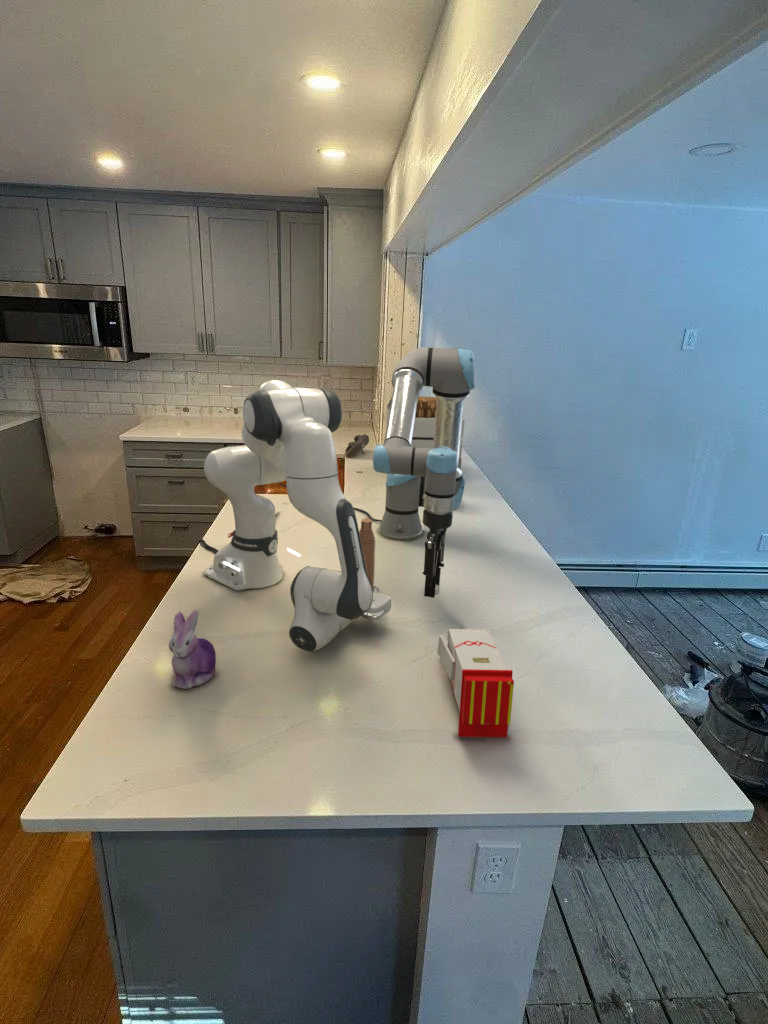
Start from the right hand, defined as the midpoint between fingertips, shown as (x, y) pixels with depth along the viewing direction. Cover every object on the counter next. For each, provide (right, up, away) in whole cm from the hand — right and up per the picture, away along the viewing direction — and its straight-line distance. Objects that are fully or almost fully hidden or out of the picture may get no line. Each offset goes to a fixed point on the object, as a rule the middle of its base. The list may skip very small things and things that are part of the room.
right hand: (431, 592), depth 152 cm
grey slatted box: (+5, +40, +123) cm, 130 cm away
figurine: (-52, -13, -32) cm, 63 cm away
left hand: (-18, +2, -3) cm, 18 cm away
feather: (-53, +20, +60) cm, 83 cm away
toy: (+5, -16, -33) cm, 37 cm away
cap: (0, +1, 0) cm, 1 cm away
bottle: (-18, -4, -2) cm, 19 cm away
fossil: (-27, +53, +154) cm, 166 cm away
